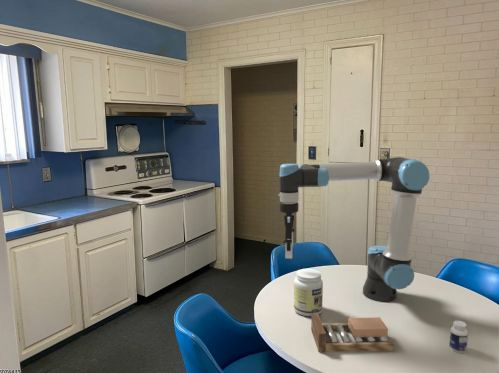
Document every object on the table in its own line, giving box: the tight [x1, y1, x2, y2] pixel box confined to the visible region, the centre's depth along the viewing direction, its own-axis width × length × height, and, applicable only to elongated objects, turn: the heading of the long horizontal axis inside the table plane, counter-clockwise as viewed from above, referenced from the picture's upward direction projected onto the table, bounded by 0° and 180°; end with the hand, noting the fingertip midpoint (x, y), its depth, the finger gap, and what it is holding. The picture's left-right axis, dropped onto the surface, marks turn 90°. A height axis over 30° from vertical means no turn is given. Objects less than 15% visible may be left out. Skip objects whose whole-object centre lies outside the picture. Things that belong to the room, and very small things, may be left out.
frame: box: [310, 313, 395, 353], centre depth 140 cm, size 26×14×7 cm, turn 91°
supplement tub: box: [293, 268, 324, 317], centre depth 162 cm, size 12×12×17 cm
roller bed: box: [324, 322, 389, 343], centre depth 140 cm, size 11×20×2 cm, turn 91°
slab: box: [347, 317, 389, 338], centre depth 140 cm, size 12×8×3 cm, turn 91°
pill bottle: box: [448, 320, 469, 354], centre depth 133 cm, size 5×5×10 cm
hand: (289, 252), depth 157 cm, fingers open, 13 cm apart
